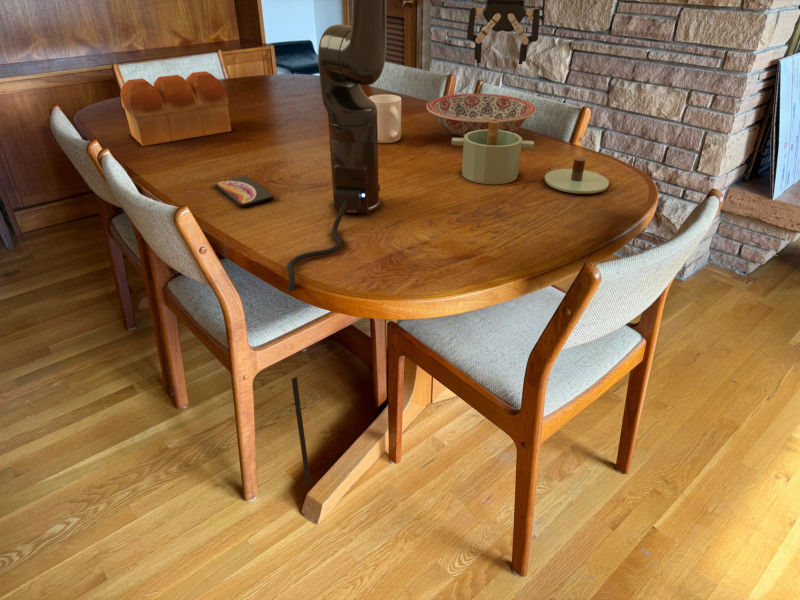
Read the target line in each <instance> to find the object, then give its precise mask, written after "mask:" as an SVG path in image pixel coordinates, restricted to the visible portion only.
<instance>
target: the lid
mask: <svg viewBox="0 0 800 600" xmlns="http://www.w3.org/2000/svg"><path fill="white" fill-rule="evenodd" d="M585 166H586V158H585V157H581V156H580V157H579V156H577V157H574V158H573V165H572V168H559V169H558V168H557V169H553V170H550V171H548V172H546V173H545V175H544V179H543V181H544V182H545V184H546V185H547V186H549V187H551V188H553V189H554V190H558V191H561V192H565V193H570V194H578V195H579V194H580V195H581V194H582V195H583V194H584V195H585V194H587V195H588V194H597V193H601V192H604V191H605V190H607V189H608V188H609V185H610V181H609V180H608V178H606V177H605V176H604V175H602V174H601V173H598V172H594V171H590V170H586V169H585Z"/></svg>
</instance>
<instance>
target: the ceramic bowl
mask: <svg viewBox="0 0 800 600" xmlns="http://www.w3.org/2000/svg"><path fill="white" fill-rule="evenodd" d="M426 110H427V111H428V112H429V113H430V114H433V116H434V118H435V120H436V121H437V122H438V124H439V125H440V126H441V127H442V128H443V129H444V130H445V131H446V132H448V133H450V134H452V135H453V136H456V137H459V138H464V135H465V134H467V133H468V132H472V131H476V130H486V129H488V124H489V121H490V120H497V121H499V122H500V124H499V130H502V131H509V132H512V133H515V131H517V130H518V129H519V128H520V127H521V126H522V125H523V124H524V123H525V121H526V120H527V119H528V118H530V117H532V116H533V115H535V114H536V111H537V109H536V106H535V105H534V104H533V103H531V102H530V101H527V100H525V99H522V98H519V97H514V96H509V95H503V94H494V93H457V94H448V95H444V96H439V97H436V98H434V99H433V98H432V99H431V100H429V101H428V102H427V103H426Z"/></svg>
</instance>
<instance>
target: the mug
mask: <svg viewBox="0 0 800 600" xmlns="http://www.w3.org/2000/svg"><path fill="white" fill-rule="evenodd" d="M368 97H369V98H370V99H371V100H372V101H373V102H374V103H375V104H376V106H377V124H378V144H392V143H396V142H398V141H400V139H401V137H402V97H401V96H399V95H397V94H396V95H395V94H374V95H371V96H368Z"/></svg>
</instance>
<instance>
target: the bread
mask: <svg viewBox="0 0 800 600" xmlns="http://www.w3.org/2000/svg"><path fill="white" fill-rule="evenodd" d="M119 93H120V94H119V95H120V101H121V106H122V108H123V109H124V111H125V115H126V119H127V123H128V127H129V131H130V135H131V136H132V137H133V138H134V139H135V140H136V141H137V142H138V143H139V144H140V145H141V146H142V147H145V146H151V145H157V144H163V143H169V142H175V141H181V140H187V139H193V138H198V137H204V136H209V135H211V136H212V135H216V134H221V133H227V132H232V126H231V118H230V112H229V104H230V101H229V97H228V93H227V90H226V88H225V86H224V85H223V84H222V82H221V81H220V79H218V78H217V77H216V76H215V75H213V74H212V73H210V72H208V71H196V72H195V71H194V72H191V73H190V74H189V75H188V76H187V77H186V78H184V77H183V76H181V75H179V74H172V75H162V76H158V77H157V78H156V79H155V80H154V82H153V84H151V83H150V81H148V80H146V79H144V78H143V77H142V78H141V77H140V78H135V79H128V80H127V81H125V82H124V84H123V85H122V86H121V89H120V92H119Z"/></svg>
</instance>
